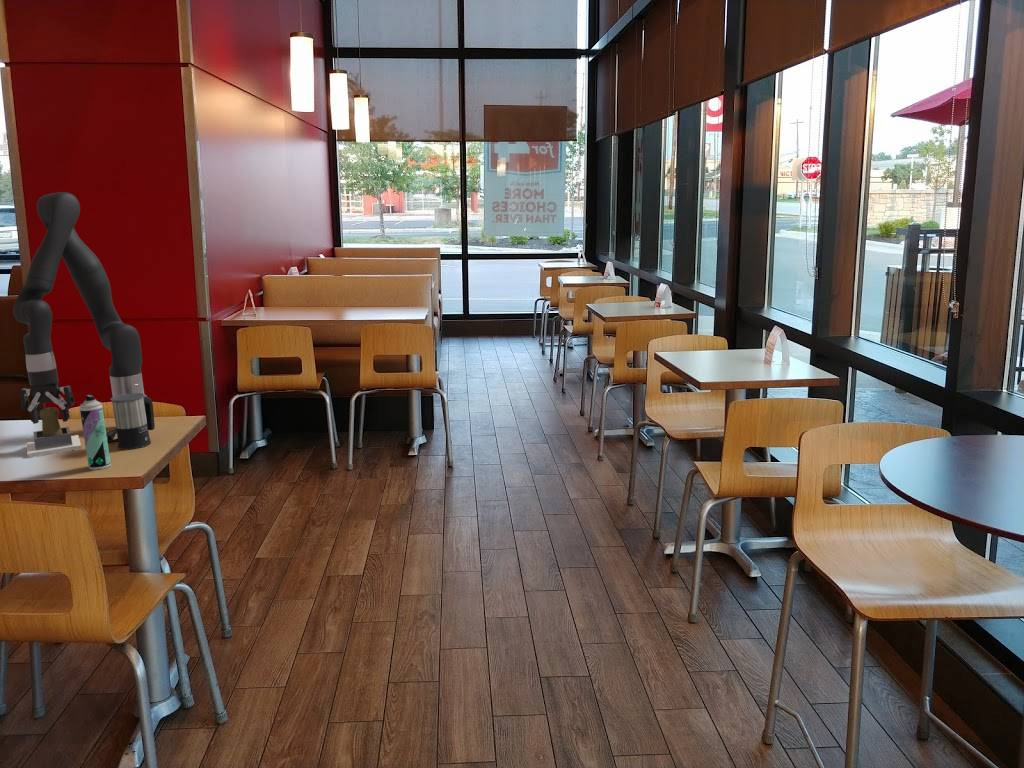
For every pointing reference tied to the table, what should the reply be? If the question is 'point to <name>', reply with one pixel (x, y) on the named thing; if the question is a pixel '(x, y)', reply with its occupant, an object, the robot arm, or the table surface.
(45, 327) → the robot arm
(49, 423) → the cork
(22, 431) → the table surface
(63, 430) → the socket collar
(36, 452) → the socket base
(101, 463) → the spray can
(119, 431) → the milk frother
